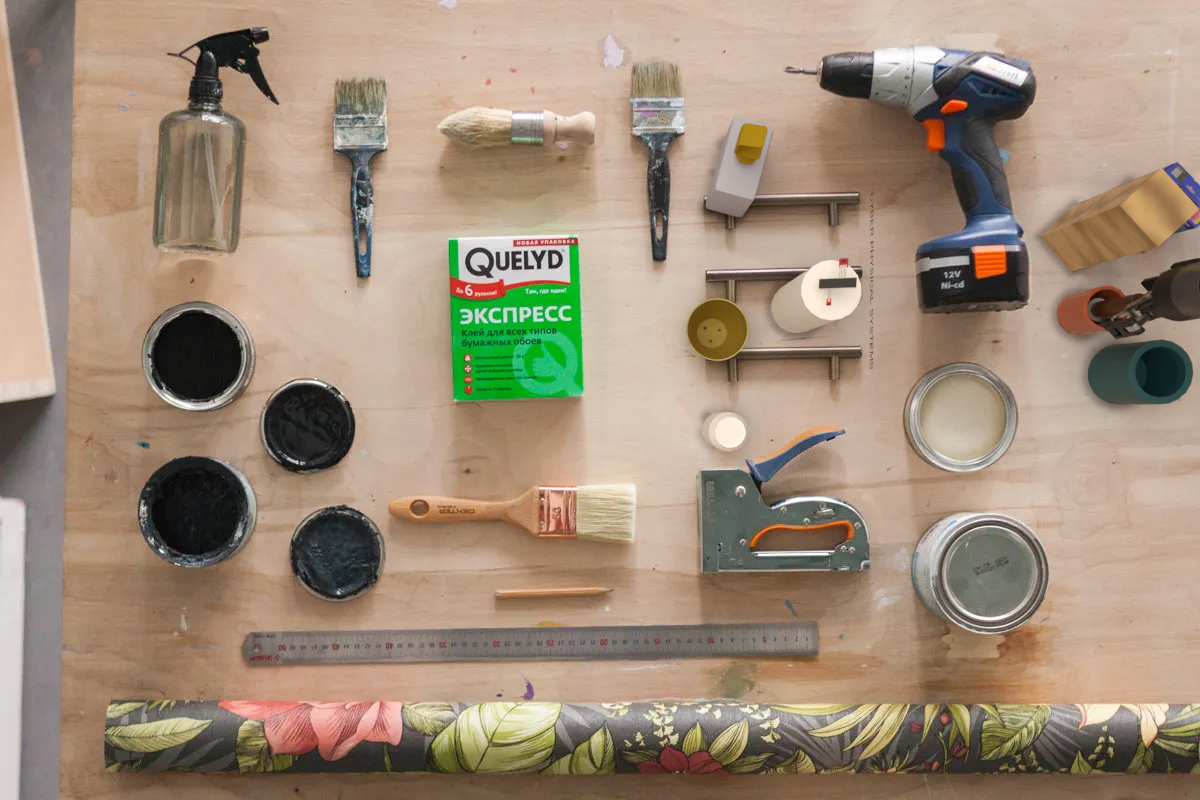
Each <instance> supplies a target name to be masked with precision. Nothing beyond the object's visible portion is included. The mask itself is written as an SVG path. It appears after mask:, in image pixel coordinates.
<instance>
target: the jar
mask: <svg viewBox="0 0 1200 800" xmlns="http://www.w3.org/2000/svg"><path fill="white" fill-rule="evenodd" d="M1193 376H1194V367H1193V362H1192V359H1191V357H1190V355H1189V353H1187V351H1186V350H1185V349H1184V348H1183V347H1182V346H1181V345H1179V344H1177V343H1176V342H1174V341H1171V340H1166V339H1155V340H1154V339H1153V340H1144V341H1137V342H1128V343H1120V344H1119V343H1118V344H1112V345H1108V346H1106V347H1103V348H1101V349H1100V350H1099V351H1097V353H1095V355H1094V356H1093V357H1092V359H1091V360H1090V362H1089V365H1088V369H1087V380H1088V383H1089V387H1090V388H1091V391H1092V392H1093V393H1094V395H1095V396H1097V397H1098V399H1101V400H1102V401H1104V402H1106V403H1109V404H1112V405H1168V404H1171V403H1173V402H1176V401H1179V399H1181V398H1182V397H1183V396H1184V395H1185V394H1186V393H1187V392H1188V390H1189V388H1190V387H1191V385H1192V382H1193Z"/></svg>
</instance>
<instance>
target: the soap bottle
mask: <svg viewBox="0 0 1200 800" xmlns="http://www.w3.org/2000/svg"><path fill="white" fill-rule="evenodd" d="M773 134H774V126H773V125H771V124H767V123H763V122H759V121H755V120H753V119H748V118H745V117H741V116H734V117H733V119H732V120H731V122H730V125H729V127H728V128H727V131H726V134H725V136H724V138H723V140H722V143H721V147H720V150H719V154H718V157H717V161H716V164H715V168H714V170H713V171H714V172H713V176H712V179H711V183H710V186H709V191H708V194H707V197H706V201H705V208H706V209H707V210H709V211H714V212H716V213H721V214H724V215H728V216H732V217H735V218H742V217H743V216H744V215H745V213H746V212H747V211H748V209H749V208H750V206H751V205H752V203H753V202H754V201H755V199H756V197H757V193H758V189H759V186H760V182H761V178H762V175H763V171H764V167H765V163H766V161H767V156H768V153H769V149H770V145H771V142H772V138H773Z"/></svg>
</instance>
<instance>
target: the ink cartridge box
mask: <svg viewBox="0 0 1200 800" xmlns="http://www.w3.org/2000/svg"><path fill="white" fill-rule="evenodd" d="M1161 168H1162V169H1163V170H1164V171H1165V172H1166V173H1167V174H1168V175H1169V176H1170V178H1171V179H1172V180H1173V181H1174V182H1175V183H1176V184H1177V185H1178V186H1179V187H1180V188H1181V190H1182V191H1183V192H1184V193H1185V194H1186V195H1187V196H1188V197H1189V198H1190V199H1191V200H1192V202H1193V203H1194V204H1195V205H1196V206H1197V207H1198V208H1199V210H1198V211H1197V212H1196V213H1195V214H1194V215H1193V216H1192V217H1191V218H1190V219H1188V220H1187V221H1186V222H1185V223H1184V224H1183V225H1182V226H1181V227H1180V228H1178V229H1177V230H1176V231H1175V232H1174V233H1173V234H1172V235H1174V234H1179V233H1182V232H1186V231H1191V230H1194V229H1195V230H1196V229H1197V228H1198V227H1199V226H1200V183H1198V182H1197V181H1196V180H1195V178H1194V177H1193V176H1192V175H1191V174H1190V173H1189V172H1188V171H1187V170H1186V169H1185V168H1184V167H1183V165H1181V164H1180V163H1179V162H1178V161H1176V162H1174V163H1172V164H1169V165H1166V166H1164V167H1161Z"/></svg>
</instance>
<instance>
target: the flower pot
mask: <svg viewBox="0 0 1200 800" xmlns="http://www.w3.org/2000/svg"><path fill="white" fill-rule="evenodd" d="M749 327H750V325H749V321H748V318H747V316H746V314H745V312H744V310H742V308H741V307H740V306H739V305H737V304H736V303H735V302H733V301H731V300H729V299H726V298H721V297H720V298H719V297H718V298H717V297H715V298H710V299H706V300H704V301H702V302H700V303H698V304H697V305H696V306H695V307H694V308H693V309H692V311H690V314H689V316H688V318H687V321H686V326H685V334H686V339H687V341H688V344H689V345H690V347H691V348H692V350H693V351H694V352H695V353H696V354H697V355H698V356H699V357H701V358H703V359H706V360H708V361H713V362H721V361H728V360H729V359H732V358H734V357H735V356H736V355H738V354H739V353H740V352H741V351H742V350H743V348H744V347H745V346H746V343H747V342H748V338H749V335H750V334H749V333H750V331H749V329H750V328H749ZM710 341H711V342H710Z"/></svg>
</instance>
